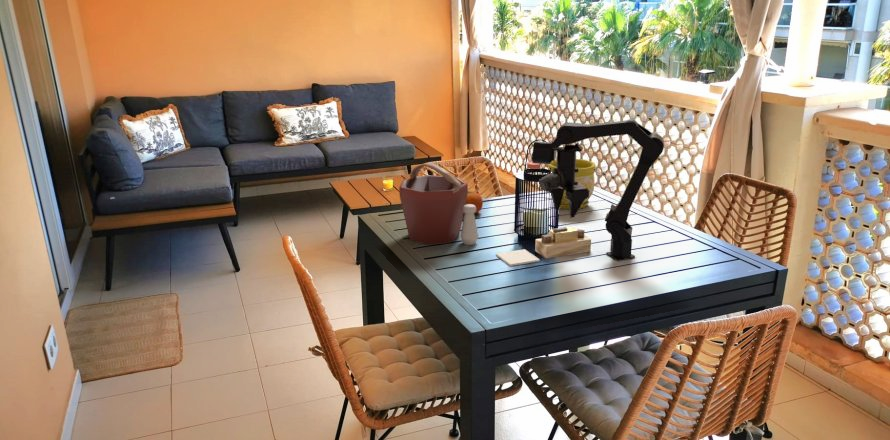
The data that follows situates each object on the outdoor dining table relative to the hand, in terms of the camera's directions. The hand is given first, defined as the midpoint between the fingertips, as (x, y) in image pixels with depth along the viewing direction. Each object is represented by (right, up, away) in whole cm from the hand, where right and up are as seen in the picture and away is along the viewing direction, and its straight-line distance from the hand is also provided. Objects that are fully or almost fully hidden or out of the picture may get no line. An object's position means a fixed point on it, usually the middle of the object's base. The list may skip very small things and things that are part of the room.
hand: (564, 213), depth 217 cm
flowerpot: (+11, +4, +53) cm, 54 cm away
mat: (-15, -14, -2) cm, 20 cm away
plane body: (0, -12, +4) cm, 12 cm away
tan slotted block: (0, -8, +2) cm, 8 cm away
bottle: (-5, -1, +40) cm, 40 cm away
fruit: (-28, 0, +44) cm, 53 cm away
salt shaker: (-29, -10, +12) cm, 33 cm away
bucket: (-42, -8, +19) cm, 46 cm away
